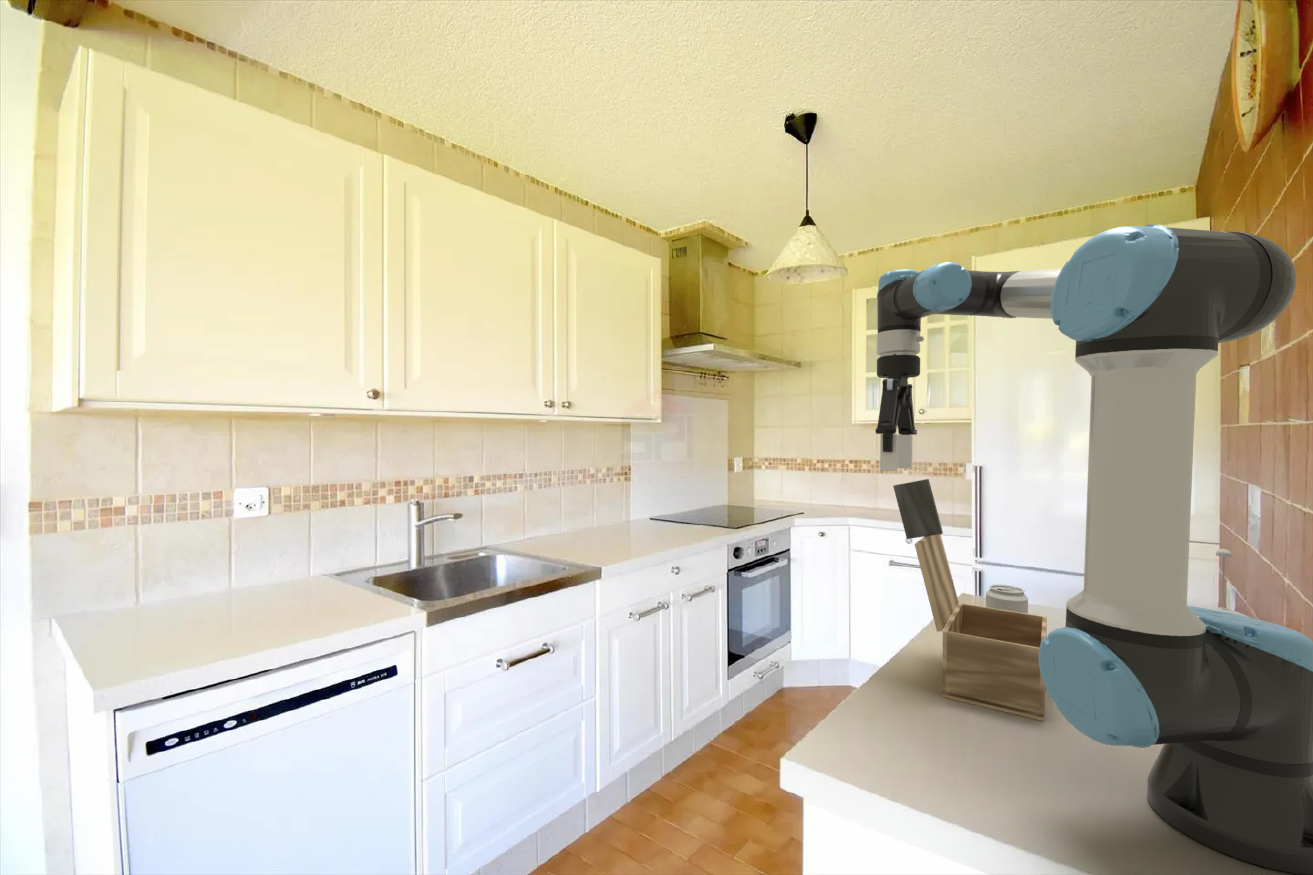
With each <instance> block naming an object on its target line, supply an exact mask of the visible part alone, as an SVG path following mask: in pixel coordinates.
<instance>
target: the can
mask: <svg viewBox="0 0 1313 875" xmlns="http://www.w3.org/2000/svg"><path fill="white" fill-rule="evenodd" d="M988 588H989V589H988V590H987V591H986V592H985V607H988V608H995V609H1001V610H1008V611H1014V612H1021V613H1027V614H1029V598H1028V596H1027V595H1026V594H1025V590H1024V589H1023V588H1021V587H1018V586H1014V585H1007V584H991V585H989V587H988Z"/></svg>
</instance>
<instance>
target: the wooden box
mask: <svg viewBox="0 0 1313 875" xmlns="http://www.w3.org/2000/svg"><path fill="white" fill-rule="evenodd" d="M1047 620H1048V619H1047V616H1046V615H1039V614H1033V613H1028V614H1027V613H1021V612H1014V611H1008V610H1001V609H995V608H988V607H986V606H982V605H977V604H976V605H975V604H967V603H963V602H959V604H958V605H957V607H956V609H955V610H954V612H953V614H952V615H951V617H950V619H949V621H948V622H947V624H946V626H945V627H944V629H943V631H942V654H941V656H942V660H941V662H942V664H941V671H942V672H941V698H945V699H950V700H954V701H957V702H962V703H965V704H971V705H975V706H979V707H983V708H987V709H991V710H995V711H1000V712H1004V713H1008V714H1013V715H1018V716H1021V717H1024V718H1029V719H1033V720H1038V721H1042V722H1045V708H1046V707H1045V706H1046V705H1045V703H1046V702H1045V701H1046V688H1045V685H1044V683H1043V680H1042V677H1041V673H1040V668H1039V648H1040V645H1041V642H1042V640H1043V639H1044V638H1045V637H1047V632H1048V631H1047V629H1048V628H1047V626H1048V625H1047V622H1048V621H1047Z"/></svg>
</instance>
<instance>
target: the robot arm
mask: <svg viewBox="0 0 1313 875" xmlns="http://www.w3.org/2000/svg"><path fill="white" fill-rule="evenodd" d="M1296 288H1297V273H1296V267H1295V264H1294V262H1293V261H1292V259H1291V257H1290V254H1288V253H1287V252H1286V251H1285V250H1284V249H1283V247H1282V246H1280V245H1278V243H1275V242H1274V241H1272V240H1270V239H1268V238H1265V237H1263V236H1261V235H1258V234H1257V235H1256V234H1253V233H1249V232H1241V231H1219V230H1207V229H1193V228H1180V227H1179V228H1178V227H1166V226H1165V225H1162V224H1147V225H1142V226H1141V225H1140V226H1138V225H1137V226H1134V225H1133V226H1127V225H1126V226H1125V225H1124V226H1117V227H1113V228H1110V229H1106V230H1104V231H1102V232H1100V233H1098V234H1096V235H1094V236H1093V237H1091V238H1089V239H1088V240H1087V241H1085V242H1084V243H1083V244H1082V245H1080V246H1079V247H1078V248H1077V249H1076V250H1075V251H1074V252H1073V254H1072V256H1071V257H1070V259H1069V260H1068V261H1066V262H1065V263H1064V265H1063V266H1062V268H1047V269H1045V268H1043V269H1034V270H1033V269H1032V270H1016V271H1013V270H1011V271H986V270H985V271H984V270H983V271H982V270H971V269H970V270H969V269H967V268H966V267H964V266H962V265H961V264H959V263H957V262H954V261H945V262H941V263H938V264H933V265H932V266H929V267H926V269H924V270H922V271H920V272H919V271H918V270H916V269H910V268H903V269H902V268H901V269H895V270H893V271H886V272H885V273H883V274H882V275H880V277H879V279H878V290H877V293H876V299H877V303H876V304H877V310H876V312H877V314H876V316H877V321H876V322H877V335H876V337H877V338H876V354H877V356H879V357H878V358H877V359H876V377H878V378H879V379H883V380H882V389H881V390H882V392H881V400H880V406H879V407H880V408H879V414H878V419H877V420H878V421H877V426H876V428H875V434H877V435H880V442H879V443H880V449H879V450H880V451H879V462H880V463H879V471H880V472H898V469H912V468H913V435H915V436H916V435H917V434H918V430H917V429H916V427H915V417H914V416H915V415H914V404H913V385H912V384H911V383H909V381H908V380H909V379H911V378H917V377H919V376H920V375H921V357H920V356H918V355H919V353H921V344H920V342H921V343H923V342H924V340H925V338H924V336H922V335H921V330H922V329H921V328H922V327H921V325H922V323H921V322H922V321H921V320H922V318H925V317H929V316H932V315H950V316H971V317H973V316H978V317H991V318H992V317H993V318H1003V319H1004V318H1007V319H1016V318H1023V319H1025V318H1027V319H1029V318H1030V319H1046V320H1048V319H1052V321H1053V323H1054V325H1056V326H1058V330H1059V331H1060V333H1061V334H1063V335H1064V336H1066V337H1068V338H1069V339H1071V340H1074V341H1075V356H1074V359H1075V360H1074V361H1075V363H1077V365H1079V366H1080V367H1081V368H1083V369H1084V370H1085V371H1086V372H1087V373H1088V374H1089V375H1090V380H1091V381H1090V382H1091V383H1090V403H1089V404H1090V405H1089V428H1088V429H1089V434H1088V437H1089V438H1088V457H1087V458H1088V460H1087V463H1088V464H1087V487H1086V488H1087V490H1086V491H1087V492H1086V514H1085V517H1086V518H1085V538H1084V539H1085V540H1084V541H1085V544H1084V568H1083V569H1084V571H1083V572H1084V573H1083V589H1082V591H1080V592H1078V593H1077V594H1076V595H1074V596H1072V597H1071V598H1069V599H1068V600H1067V601H1066V604H1065V606H1066V609H1065V610H1066V611H1065V626H1064V627H1060V628H1055V629H1054V630H1052V631H1050V632H1049V633H1048V634H1047V636H1046V637H1045V638H1044V639H1043V640H1042V642H1041V645H1040V648H1039V668H1040V673H1041V677H1042V680H1043V683H1044V685H1045V691H1046V693H1047V694H1048V696H1049V698H1050V699H1051V700H1052V701H1053V703H1054V704H1055V706H1056V709H1057V710H1058V712H1060V714H1061V715H1062V717H1063V718H1064V719H1065V720H1066V721H1067V722H1069V724H1070V725H1071V726H1072V727H1074V729H1076V730H1077V731H1078V732H1080V733H1081V734H1082V735H1084V736H1086V737H1087V738H1089V739H1091V740H1092V741H1095V742H1098V743H1100V744H1103V745H1108V746H1114V747H1116V746H1117V747H1118V746H1119V747H1121V746H1123V747H1124V746H1128V747H1129V746H1130V747H1132V748H1133V747H1134V748H1140V749H1141V748H1150V747H1151V746H1153V745H1156V746H1157V745H1163V746H1162V747H1161V750H1160V751H1159V754H1158V756H1157V757H1156V759H1155V762H1154V763H1153V766H1152V767H1151V769H1150V772H1149V774H1148V776H1147V789H1146V790H1147V801H1148V803H1149V805H1150V807H1151V808H1152V809H1153V810H1154V811H1155V813H1156V814H1158V815H1159V817H1161V818H1162V819H1163V820H1164V821H1166V823H1168V824H1169V825H1171V827H1174V828H1175V829H1176V830H1177V831H1179V832H1181V833H1183V834H1184V835H1186V836H1187V837H1190V838H1192V839H1194V840H1195V841H1197V842H1199V843H1200V844H1203V845H1205V846H1207V847H1209V848H1212V849H1213V850H1216V851H1218V852H1220V853H1222V854H1226V855H1228V856H1231V857H1232V858H1235V859H1239V860H1241V861H1244V862H1248V863H1250V864H1254V865H1255V866H1260V867H1263V868H1267V869H1271V870H1275V871H1276V870H1277V871H1281V872H1286V873H1292V874H1298V875H1311V874H1313V640H1312V639H1311V638H1310V637H1308V636H1307V635H1305V634H1303V633H1302V632H1300V631H1297V630H1295V629H1292V628H1290V627H1287V626H1283V625H1280V624H1277V623H1273V622H1270V621H1265V620H1261V619H1258V618H1253V617H1250V616H1248V617H1245V616H1241V615H1236V614H1232V613H1227V612H1222V611H1217V610H1211V609H1206V608H1205V607H1198V606H1192V605H1191V606H1190V605H1188V604H1187V603H1188V585H1189V584H1188V580H1189V559H1190V558H1189V556H1190V555H1189V554H1190V537H1191V536H1190V534H1191V532H1190V531H1191V509H1192V508H1191V507H1192V489H1193V488H1192V487H1193V485H1192V484H1193V463H1194V443H1195V442H1194V439H1195V438H1194V435H1195V417H1196V416H1195V415H1196V390H1197V389H1196V388H1197V375H1198V372H1199V371H1200V370H1201V369H1202V368H1204V367H1205V366H1206V365H1207V364H1209V363H1210V362H1211V361H1213V360H1214V359H1215V358H1216V357H1218V356H1219V344H1222V343H1227V342H1231V341H1232V342H1233V341H1237V340H1240V339H1243V338H1245V337H1246V338H1247V337H1248V336H1251V335H1253V334H1256V333H1257V332H1259V331H1260V330H1263V329H1265V328H1266V327H1267V326H1269V325H1270V324H1271V323H1273V322H1274V321H1275V320H1276V319H1278V318H1279V316H1280V315H1281V314H1282V313H1283V312H1284V311H1285V310H1286V309H1287V307H1288V306H1289V304H1290V302H1291V301H1292V299H1293V296H1294V293H1295V290H1296ZM897 429H898V430H897ZM897 431H898V434H896V433H897Z"/></svg>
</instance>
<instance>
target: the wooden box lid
mask: <svg viewBox="0 0 1313 875" xmlns="http://www.w3.org/2000/svg"><path fill="white" fill-rule="evenodd" d="M892 487H893V490H894V494H895V499H896V504H897V506H898V510H899V514H900V518H901V521H902V525H903V529H904V533H905V538H906V539H907V540H909V539H916V538H920V540H918V541H916V542H915V543H914V548H915V551H916V556H917V560H918V562H919V567H920V572H921V574H922V578H923V583H924V586H925V590H926V594H927V599H928V602H929V605H930V606H929V607H930V610H931V613H932V617H933V622H934V625H935V629H936V632H943V630H944V628H945V627H946V625H947V623H948V622H949V620H950V618H951V616H952V615H953V613H954V611H955V610H956V608H957V606H958V604H959V603H960V602H959V599H958V595H957V590H956V587H955V583H954V580H953V576H952V573H951V568H950V565H949V564H950V563H949V561H948V558H947V554H946V553H947V552H946V549H945V546H944V542H943V538H942V536H941V535H942V534H944V532H943V527H942V523H941V520H940V517H939V513H938V512H939V511H938V509H937V505H936V500H935V497H934V493H933V490H932V486H931V482H930V479H929V478H926V479H921V480H915V481H910V482H905V483H904V482H903V483H900V484H894V485H893V486H892Z"/></svg>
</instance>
